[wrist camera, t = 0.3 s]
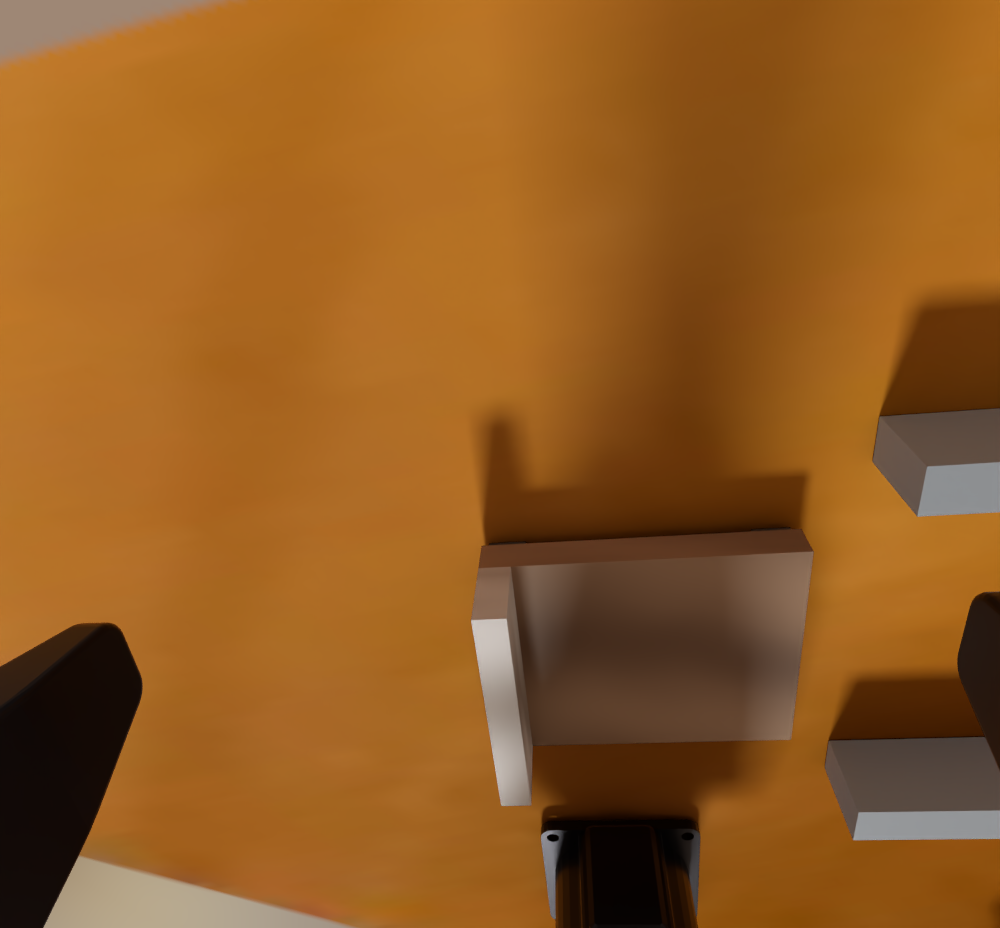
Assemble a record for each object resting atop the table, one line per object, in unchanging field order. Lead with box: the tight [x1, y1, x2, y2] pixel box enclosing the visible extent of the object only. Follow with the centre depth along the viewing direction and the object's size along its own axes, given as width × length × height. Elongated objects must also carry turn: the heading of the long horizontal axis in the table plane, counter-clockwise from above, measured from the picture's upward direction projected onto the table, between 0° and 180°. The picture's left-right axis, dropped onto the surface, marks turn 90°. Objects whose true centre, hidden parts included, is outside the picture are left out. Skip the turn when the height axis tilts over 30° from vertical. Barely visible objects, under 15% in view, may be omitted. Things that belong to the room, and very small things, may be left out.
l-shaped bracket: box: [471, 527, 814, 806], centre depth 23 cm, size 8×10×4 cm
